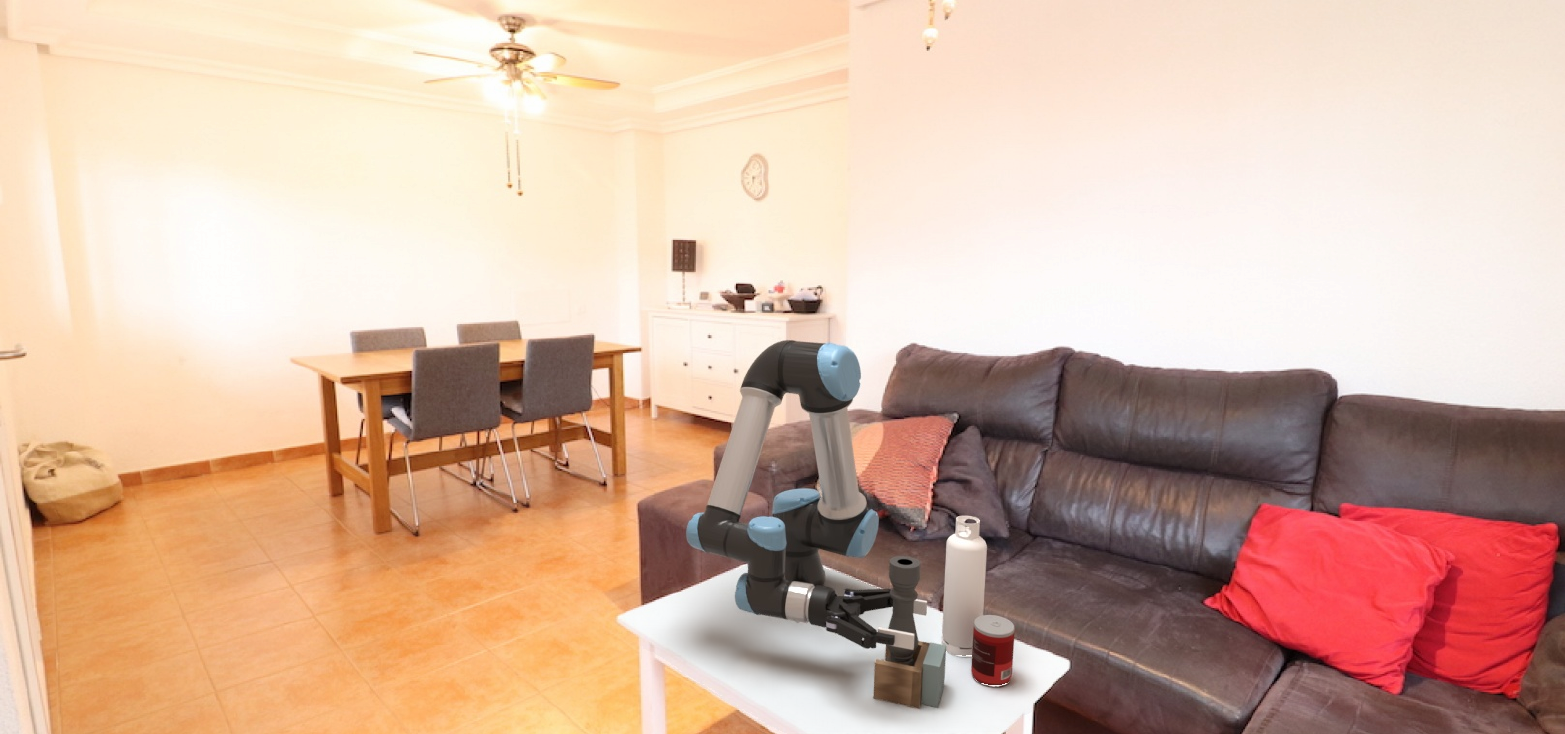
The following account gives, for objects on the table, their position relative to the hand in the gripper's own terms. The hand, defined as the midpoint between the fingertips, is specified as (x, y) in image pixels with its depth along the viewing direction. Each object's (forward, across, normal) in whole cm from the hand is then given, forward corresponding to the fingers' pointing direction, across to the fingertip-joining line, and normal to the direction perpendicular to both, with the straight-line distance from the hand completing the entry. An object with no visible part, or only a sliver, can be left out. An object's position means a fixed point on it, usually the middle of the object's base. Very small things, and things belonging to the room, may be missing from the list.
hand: (920, 624), depth 137 cm
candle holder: (-3, 0, -14) cm, 14 cm away
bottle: (+6, -19, -14) cm, 24 cm away
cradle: (-4, 0, -13) cm, 14 cm away
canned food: (+13, -10, -14) cm, 21 cm away
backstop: (+3, 0, -13) cm, 14 cm away
